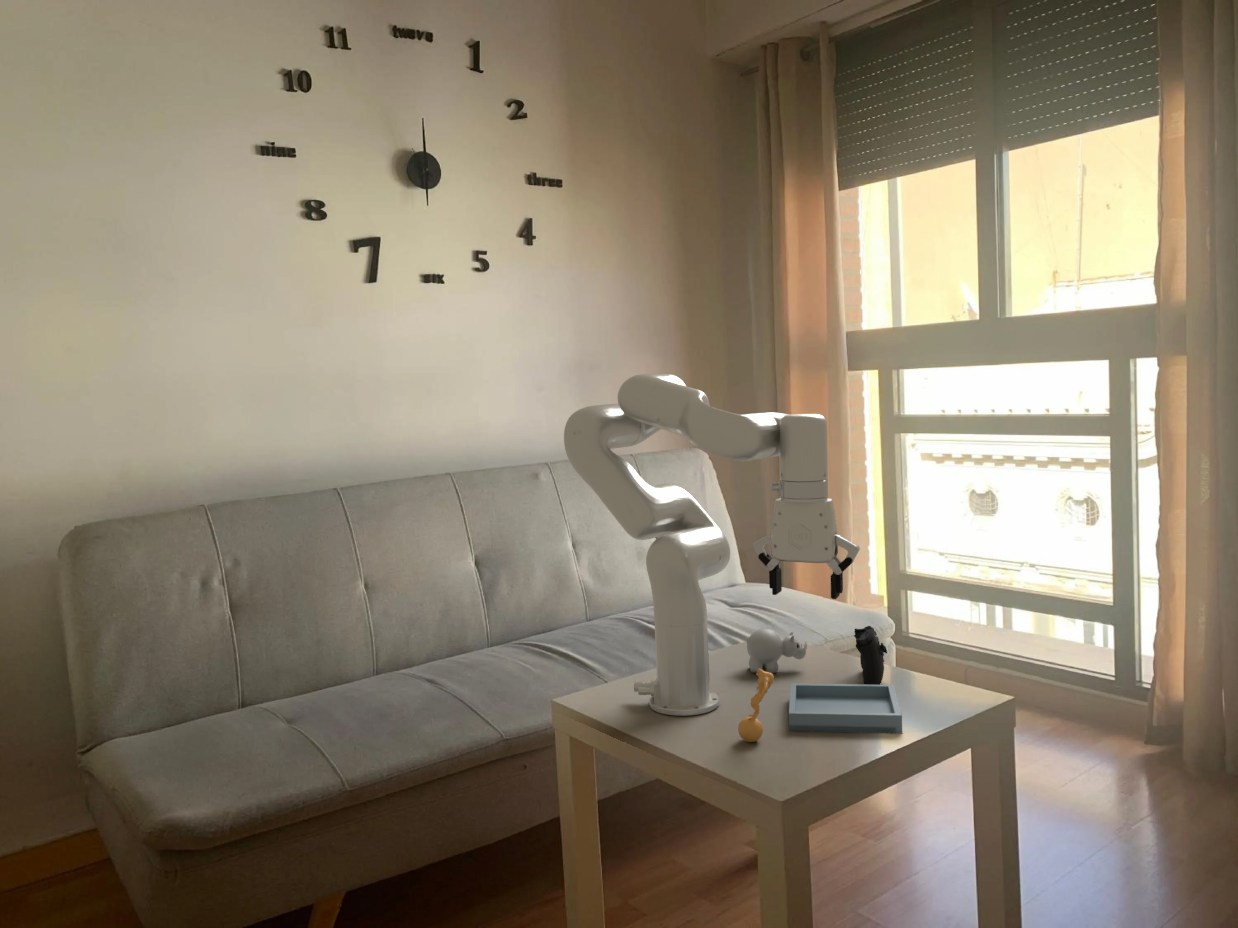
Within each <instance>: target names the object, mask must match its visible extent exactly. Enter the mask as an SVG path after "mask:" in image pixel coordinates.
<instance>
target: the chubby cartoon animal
mask: <svg viewBox="0 0 1238 928" xmlns="http://www.w3.org/2000/svg"><path fill="white" fill-rule="evenodd" d="M746 649H747V653H748V655H749V660H748V666H749V670H750V672H751V673H757V670H758V669H762V670H763V671H765V672H770V673H772V674H776V673H778V672H779V664H778V660H780V658H781V657H782V656H784V657H786V658H791V657H793V658H795V659H796V660H802V659H804V658H805V657H806V655H807V649H808V644H807V641H804V645H803V644H802V643H801V644H800V643H799V640H798V639H797V638H796V637H795V635H794V632H793V631H791V632H790V633H789V635H787V636H785V637H781V636H780V634H778V633H777V631H775V630H773V629H771V628H765V627H764V628H759V629H756V630H754V631H753V632H752V633H751V634H750V635H749V637H748V638H747V639H746Z"/></svg>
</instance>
